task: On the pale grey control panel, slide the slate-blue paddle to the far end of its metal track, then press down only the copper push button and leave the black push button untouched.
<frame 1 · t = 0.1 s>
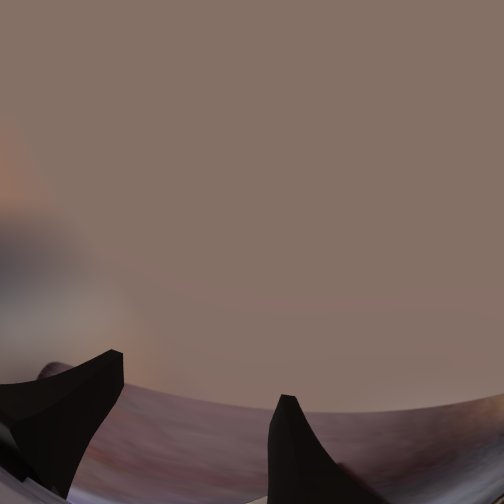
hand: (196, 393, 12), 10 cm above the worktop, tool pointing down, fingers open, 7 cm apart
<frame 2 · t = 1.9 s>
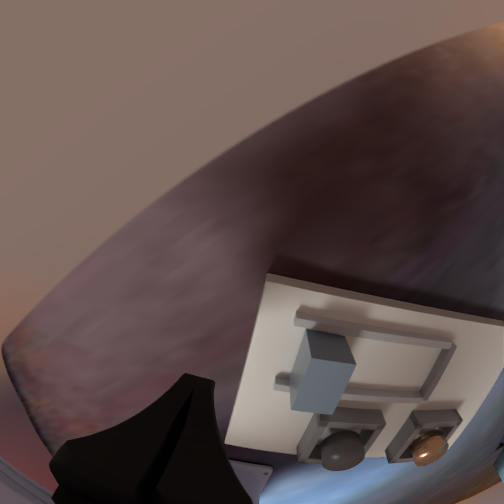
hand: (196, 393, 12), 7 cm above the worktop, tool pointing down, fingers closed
black button: (342, 451, 16), point 4 cm above the worktop, slide at 0.0 cm
copper button: (429, 448, 16), point 4 cm above the worktop, slide at 0.0 cm
control panel: (386, 388, 19), on the worktop
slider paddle: (319, 372, 15), point 3 cm above the worktop, slide at 0.0 cm
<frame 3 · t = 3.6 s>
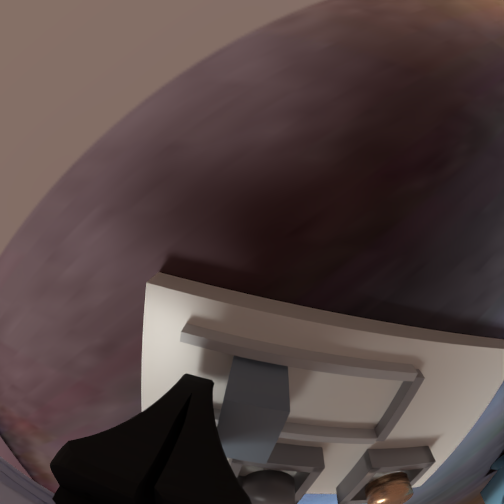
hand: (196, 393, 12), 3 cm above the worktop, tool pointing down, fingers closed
black button: (268, 492, 12), point 4 cm above the worktop, slide at 0.0 cm
copper button: (388, 492, 12), point 4 cm above the worktop, slide at 0.0 cm
control panel: (333, 420, 15), on the worktop
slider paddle: (249, 411, 11), point 3 cm above the worktop, slide at 1.5 cm, touching gripper
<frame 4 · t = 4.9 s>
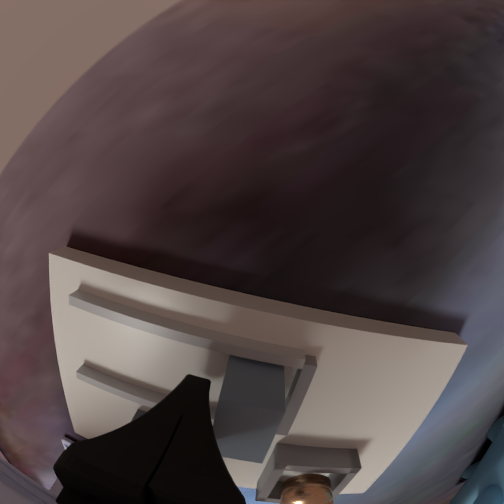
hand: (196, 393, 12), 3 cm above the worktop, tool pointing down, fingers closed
copper button: (306, 495, 12), point 4 cm above the worktop, slide at 0.0 cm
control panel: (238, 406, 15), on the worktop
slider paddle: (245, 410, 11), point 3 cm above the worktop, slide at 7.1 cm, touching gripper
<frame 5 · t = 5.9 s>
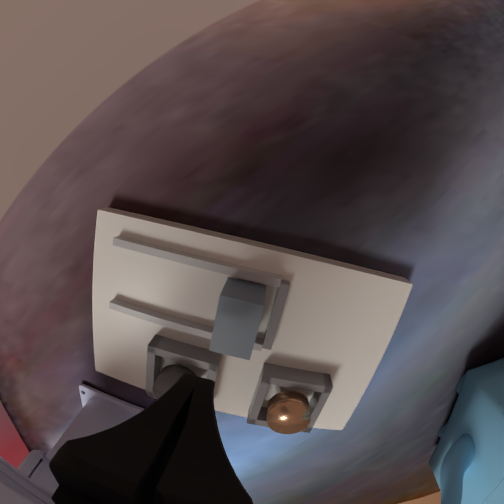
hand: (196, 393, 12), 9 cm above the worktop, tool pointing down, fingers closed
black button: (176, 387, 19), point 4 cm above the worktop, slide at 0.0 cm
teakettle: (483, 390, 22), on the worktop
copper button: (288, 412, 18), point 4 cm above the worktop, slide at 0.0 cm
control panel: (234, 332, 21), on the worktop
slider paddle: (238, 317, 17), point 3 cm above the worktop, slide at 7.1 cm
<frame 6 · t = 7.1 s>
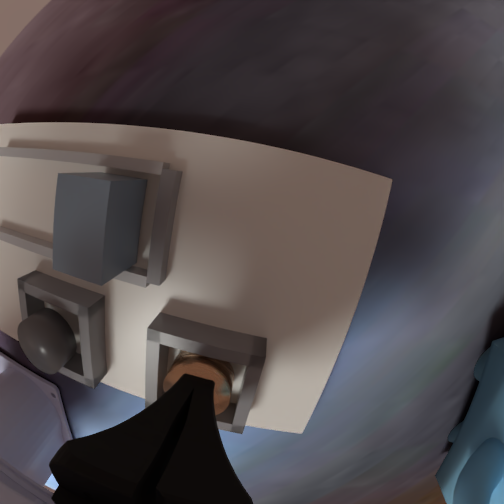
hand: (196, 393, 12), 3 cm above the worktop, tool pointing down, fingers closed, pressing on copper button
black button: (46, 341, 12), point 4 cm above the worktop, slide at 0.0 cm
copper button: (199, 383, 12), point 3 cm above the worktop, slide at 1.0 cm, touching gripper
control panel: (127, 269, 14), on the worktop
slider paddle: (99, 222, 10), point 3 cm above the worktop, slide at 7.1 cm
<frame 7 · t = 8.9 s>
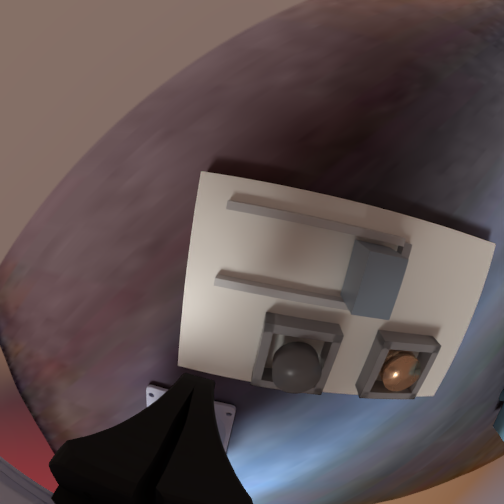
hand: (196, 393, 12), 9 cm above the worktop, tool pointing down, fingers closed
black button: (296, 367, 17), point 4 cm above the worktop, slide at 0.0 cm
copper button: (399, 369, 18), point 3 cm above the worktop, slide at 1.1 cm
control panel: (345, 303, 20), on the worktop
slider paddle: (372, 278, 16), point 3 cm above the worktop, slide at 7.1 cm
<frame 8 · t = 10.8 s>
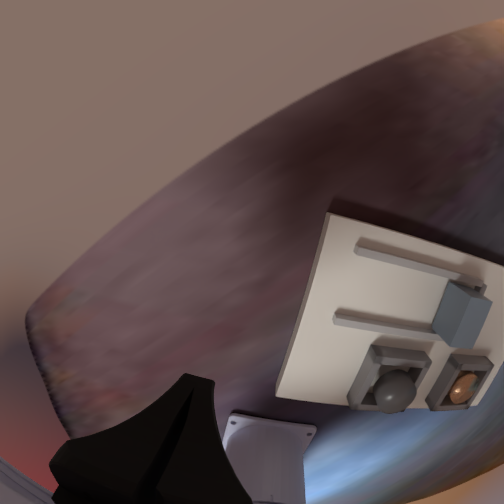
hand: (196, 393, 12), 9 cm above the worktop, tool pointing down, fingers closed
black button: (394, 391, 18), point 4 cm above the worktop, slide at 0.0 cm
copper button: (461, 385, 19), point 3 cm above the worktop, slide at 1.1 cm
control panel: (426, 331, 20), on the worktop
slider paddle: (461, 315, 16), point 3 cm above the worktop, slide at 7.1 cm
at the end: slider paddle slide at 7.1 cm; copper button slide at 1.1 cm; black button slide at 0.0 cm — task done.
